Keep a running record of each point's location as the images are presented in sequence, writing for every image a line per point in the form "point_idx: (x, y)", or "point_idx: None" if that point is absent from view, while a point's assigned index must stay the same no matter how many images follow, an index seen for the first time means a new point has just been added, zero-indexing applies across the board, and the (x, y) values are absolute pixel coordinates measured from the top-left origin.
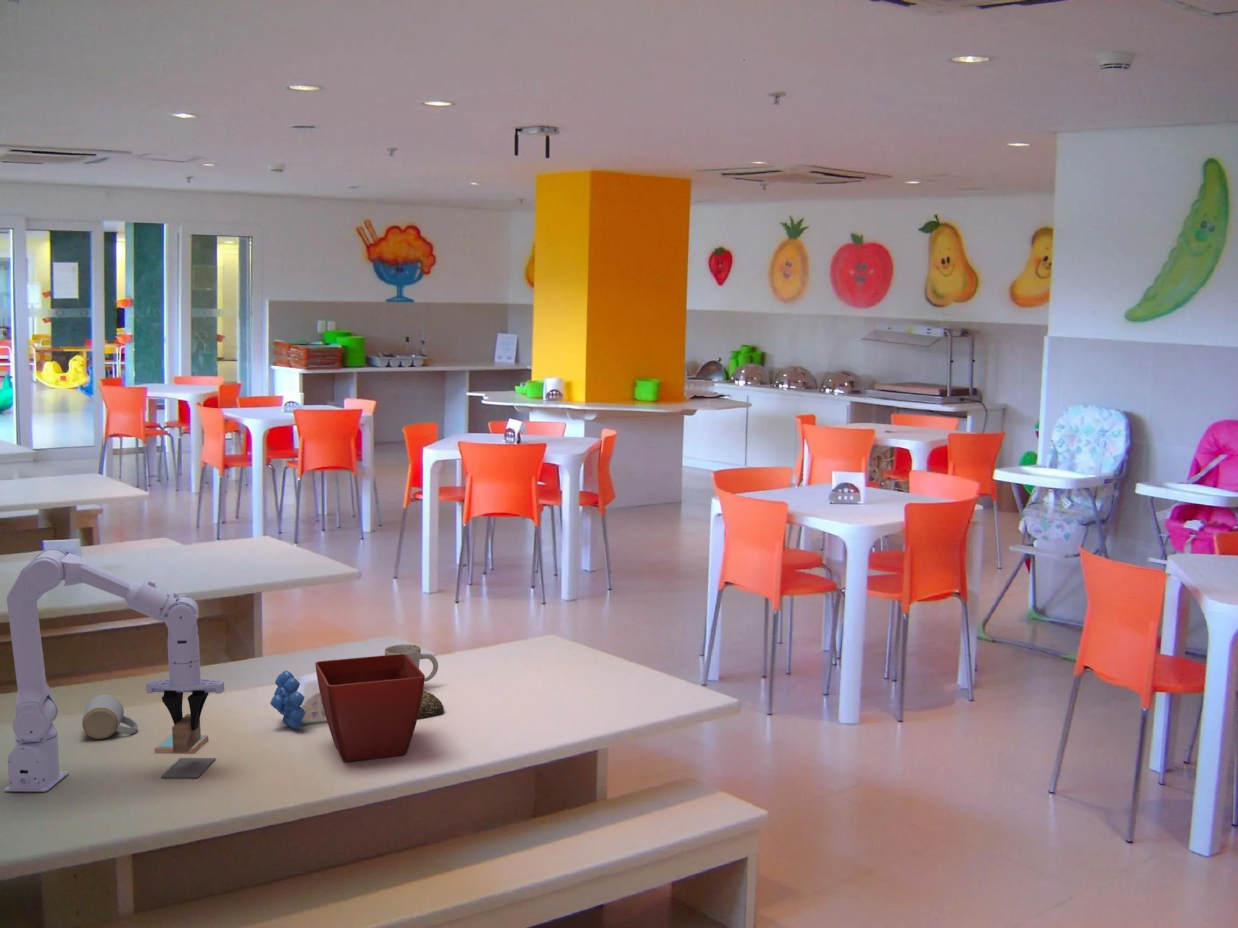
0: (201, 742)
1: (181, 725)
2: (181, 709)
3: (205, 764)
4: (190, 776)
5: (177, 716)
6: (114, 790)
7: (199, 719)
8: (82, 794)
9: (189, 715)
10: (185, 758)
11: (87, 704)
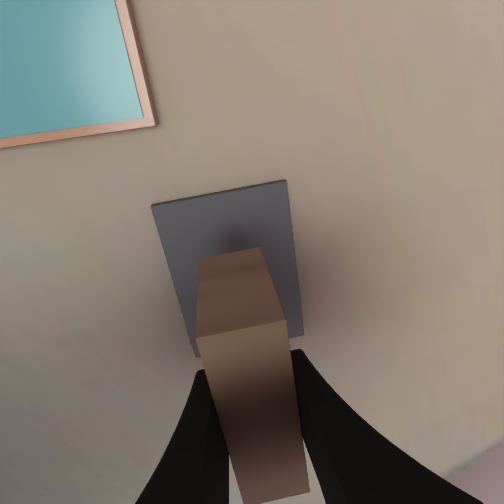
0: (128, 9)
1: (278, 480)
2: (207, 451)
3: (280, 245)
4: None
5: (226, 482)
6: (127, 438)
7: (318, 372)
8: (66, 472)
9: (232, 359)
10: (174, 207)
11: None
